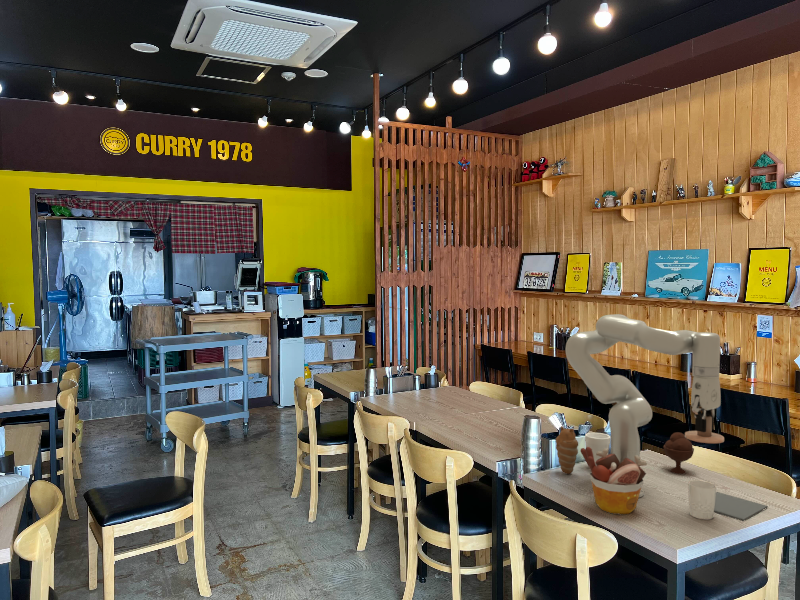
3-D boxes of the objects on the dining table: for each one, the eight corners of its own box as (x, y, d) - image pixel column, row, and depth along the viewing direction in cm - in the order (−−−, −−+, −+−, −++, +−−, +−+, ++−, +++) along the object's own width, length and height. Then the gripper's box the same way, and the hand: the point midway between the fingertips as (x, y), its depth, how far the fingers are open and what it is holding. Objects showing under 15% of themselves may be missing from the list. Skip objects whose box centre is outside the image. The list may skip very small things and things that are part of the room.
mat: (743, 521, 182) (743, 519, 182) (691, 505, 195) (691, 503, 194) (767, 507, 193) (767, 505, 193) (717, 493, 205) (717, 491, 205)
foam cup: (602, 474, 225) (602, 440, 225) (580, 468, 232) (580, 435, 232) (614, 468, 232) (614, 436, 231) (592, 463, 239) (593, 431, 238)
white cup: (685, 516, 185) (686, 485, 185) (689, 508, 192) (690, 478, 191) (713, 522, 181) (714, 490, 180) (716, 514, 187) (717, 483, 187)
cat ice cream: (551, 473, 226) (552, 426, 225) (562, 469, 231) (563, 423, 230) (571, 479, 219) (572, 431, 219) (583, 474, 225) (583, 427, 224)
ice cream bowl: (656, 469, 231) (657, 431, 231) (676, 465, 236) (677, 428, 235) (679, 477, 221) (680, 438, 221) (700, 473, 226) (701, 435, 226)
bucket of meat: (637, 500, 199) (638, 441, 198) (653, 519, 182) (655, 456, 182) (576, 497, 201) (577, 439, 200) (587, 517, 184) (588, 453, 184)
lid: (714, 445, 178) (714, 422, 177) (678, 437, 186) (678, 415, 186) (730, 439, 185) (731, 417, 184) (694, 432, 193) (695, 410, 193)
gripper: (704, 376, 177) (703, 436, 177) (730, 371, 187) (729, 428, 187) (680, 372, 183) (678, 431, 183) (706, 368, 193) (705, 423, 193)
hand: (704, 429), depth 185 cm, fingers closed on lid, 4 cm apart
